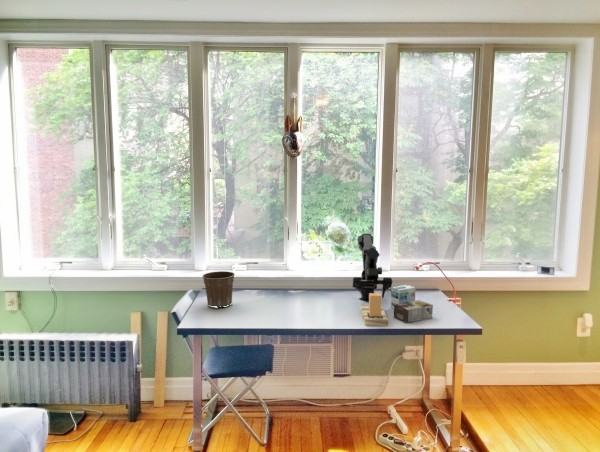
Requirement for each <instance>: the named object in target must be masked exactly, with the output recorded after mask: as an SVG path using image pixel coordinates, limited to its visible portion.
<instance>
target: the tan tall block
mask: <svg viewBox="0 0 600 452" xmlns="http://www.w3.org/2000/svg"><path fill="white" fill-rule="evenodd" d="M368 305H369V318H372V316H378V318H381V305H382V293H380V292H374V293H369V302H368Z"/></svg>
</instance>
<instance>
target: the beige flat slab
mask: <svg viewBox="0 0 600 452" xmlns="http://www.w3.org/2000/svg"><path fill="white" fill-rule="evenodd" d="M360 312H361V315H362V316H361V317H362V320H363V322H364V326H367V327H369V326H371V327H372V326H374V327H375V326H378V327H380V326H381V327H388V326H389V320H388V317H387V315H386V312H385V310H384V308H383V306H382V304H381V318H378V316H372V318H369V304H361V305H360Z"/></svg>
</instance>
